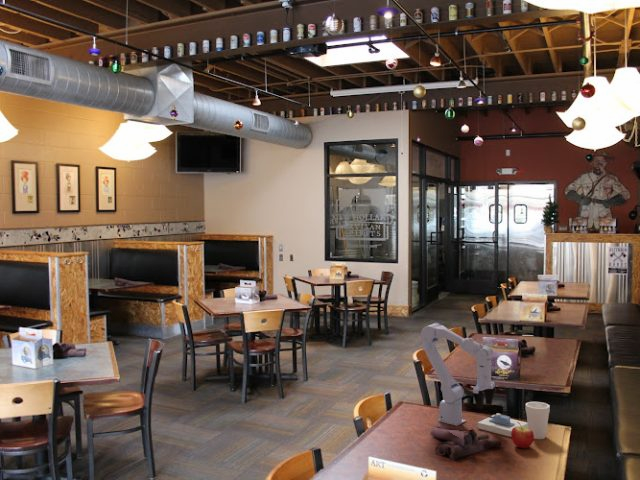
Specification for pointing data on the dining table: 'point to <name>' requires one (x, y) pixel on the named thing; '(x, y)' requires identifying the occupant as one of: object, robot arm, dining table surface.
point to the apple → (522, 436)
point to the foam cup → (537, 418)
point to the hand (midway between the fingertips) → (484, 406)
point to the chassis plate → (500, 426)
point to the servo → (501, 420)
